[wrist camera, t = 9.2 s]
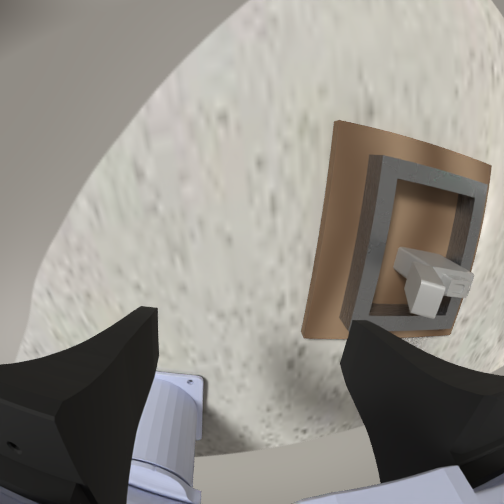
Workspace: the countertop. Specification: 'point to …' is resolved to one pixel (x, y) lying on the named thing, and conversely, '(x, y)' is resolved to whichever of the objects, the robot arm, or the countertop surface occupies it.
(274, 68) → the countertop surface
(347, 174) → the walnut board
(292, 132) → the countertop surface
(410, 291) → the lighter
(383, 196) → the steel collar
